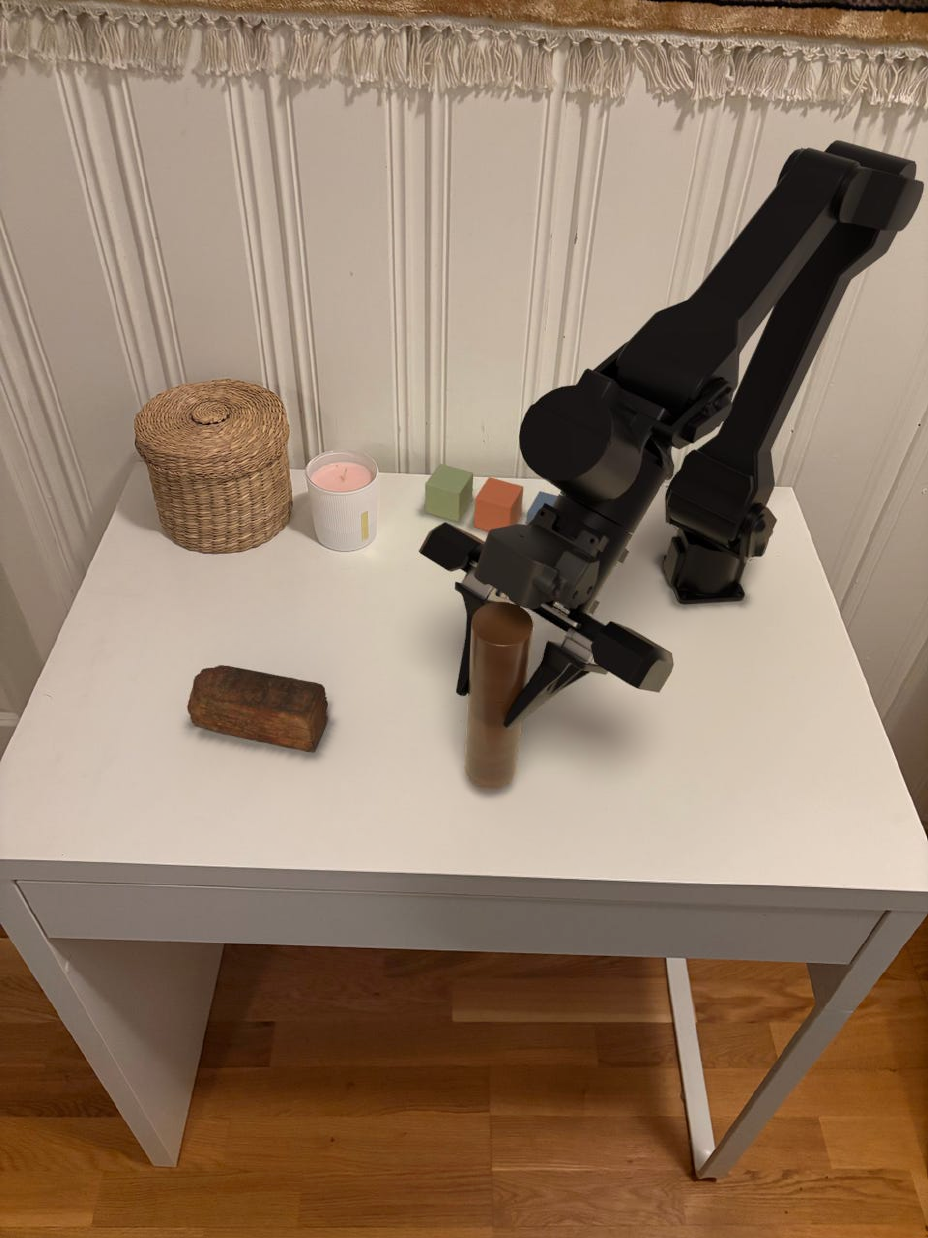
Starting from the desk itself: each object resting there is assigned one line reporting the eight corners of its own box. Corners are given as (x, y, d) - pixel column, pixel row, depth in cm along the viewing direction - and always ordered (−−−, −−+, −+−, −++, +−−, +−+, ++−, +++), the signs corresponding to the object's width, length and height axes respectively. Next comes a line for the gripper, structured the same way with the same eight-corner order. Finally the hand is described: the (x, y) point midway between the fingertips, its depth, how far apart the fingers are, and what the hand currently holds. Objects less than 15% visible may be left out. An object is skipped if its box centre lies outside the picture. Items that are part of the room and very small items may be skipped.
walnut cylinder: (487, 737, 73) (498, 592, 62) (527, 765, 72) (545, 621, 60) (453, 768, 71) (458, 624, 60) (493, 798, 69) (506, 655, 58)
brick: (330, 717, 78) (325, 681, 74) (314, 755, 75) (308, 719, 71) (211, 693, 79) (202, 656, 76) (191, 729, 76) (180, 693, 73)
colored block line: (571, 529, 95) (575, 500, 93) (559, 551, 93) (563, 522, 90) (439, 492, 99) (439, 463, 96) (424, 512, 97) (424, 483, 94)
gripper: (437, 423, 60) (324, 632, 62) (685, 556, 51) (546, 793, 53) (507, 468, 70) (408, 647, 72) (725, 586, 61) (606, 785, 63)
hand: (483, 710), depth 65 cm, fingers closed on walnut cylinder, 4 cm apart
